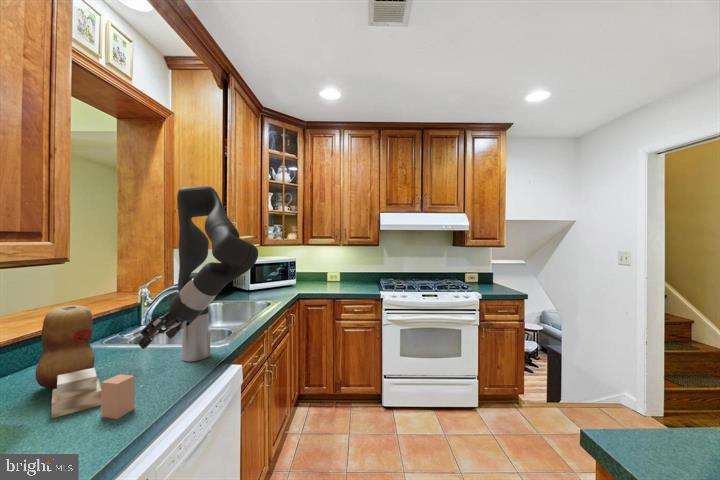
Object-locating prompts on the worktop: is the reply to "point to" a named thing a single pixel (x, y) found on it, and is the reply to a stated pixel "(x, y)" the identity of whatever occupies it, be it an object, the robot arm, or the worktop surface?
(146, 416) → the worktop surface
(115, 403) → the salmon pink rectangular block
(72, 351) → the butternut squash
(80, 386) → the beige stepped block
